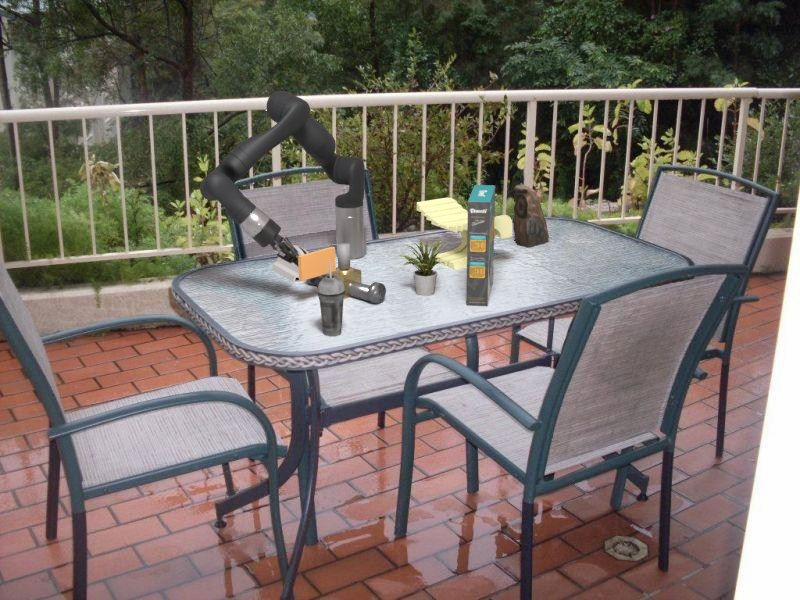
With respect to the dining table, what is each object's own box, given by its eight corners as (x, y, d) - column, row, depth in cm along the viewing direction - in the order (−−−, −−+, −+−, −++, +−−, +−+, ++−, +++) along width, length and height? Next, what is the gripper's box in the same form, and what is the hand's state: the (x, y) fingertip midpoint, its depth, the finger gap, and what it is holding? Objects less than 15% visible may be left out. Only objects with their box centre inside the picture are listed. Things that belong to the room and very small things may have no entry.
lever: (344, 265, 272) (343, 241, 270) (352, 267, 270) (352, 244, 268) (296, 279, 259) (295, 255, 257) (304, 282, 257) (303, 257, 255)
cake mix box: (473, 281, 282) (474, 184, 272) (492, 282, 281) (495, 185, 272) (466, 305, 262) (467, 201, 252) (487, 306, 261) (490, 202, 251)
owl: (528, 249, 316) (530, 191, 310) (499, 242, 325) (501, 186, 318) (550, 241, 325) (553, 185, 318) (522, 235, 333) (524, 180, 327)
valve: (321, 281, 284) (320, 257, 282) (387, 300, 266) (387, 275, 264) (304, 286, 279) (303, 262, 277) (370, 306, 261) (370, 281, 259)
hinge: (270, 268, 297) (279, 238, 295) (283, 271, 299) (291, 241, 298) (293, 282, 283) (302, 250, 282) (307, 284, 286) (315, 253, 285)
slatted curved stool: (510, 267, 296) (512, 213, 290) (471, 276, 288) (472, 220, 282) (454, 246, 320) (455, 196, 314) (416, 254, 311) (416, 202, 305)
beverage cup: (346, 328, 245) (344, 255, 239) (346, 337, 238) (344, 263, 232) (319, 328, 245) (316, 255, 239) (317, 338, 238) (315, 264, 232)
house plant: (422, 281, 283) (422, 229, 278) (459, 290, 275) (460, 236, 269) (392, 293, 273) (392, 239, 267) (430, 302, 264) (430, 247, 259)
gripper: (253, 230, 264) (298, 270, 269) (248, 242, 252) (295, 284, 256) (271, 211, 263) (316, 252, 267) (266, 223, 250) (314, 265, 255)
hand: (306, 268), depth 262 cm, fingers closed
